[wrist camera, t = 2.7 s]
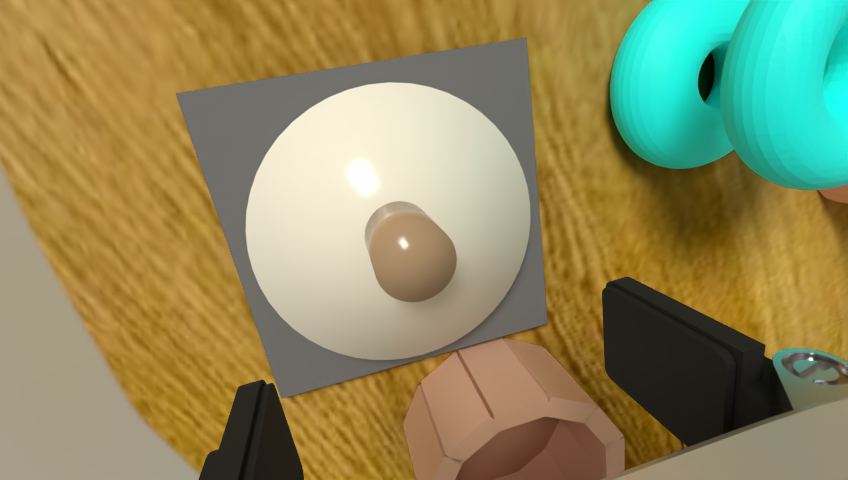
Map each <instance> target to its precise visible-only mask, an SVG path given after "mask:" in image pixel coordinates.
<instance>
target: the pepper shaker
mask: <svg viewBox="0 0 848 480" xmlns="http://www.w3.org/2000/svg"><path fill="white" fill-rule="evenodd" d="M818 191H819V192H820V193H821V194H822V195H823V196H824V197H825V198H827V199H830V200H832V201H835V202H841V203H847V204H848V184H847V185H843V186H839V187H835V188H830V189H821V190H818Z"/></svg>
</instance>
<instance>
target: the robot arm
mask: <svg viewBox="0 0 848 480" xmlns="http://www.w3.org/2000/svg"><path fill="white" fill-rule="evenodd" d="M602 304H603V330H604V357H605V369H606V372H607V374H608V376H609V377H610V378H611V380H612V381H614V382H615V383H616V384H617V385H618V386H619V387H620V388H622V389H623V390H624V391H625V392H626V393H627V394H628V395H629V396H631V397H632V398H633V399H634V400H635V401H636V402H637V403H639V404H640V405H641V406H642V407H643V408H644V409H645V410H646V411H648V412H649V413H650V414H651V415H652V416H653V417H654V418H656V419H657V420H658V421H659V422H660V423H661V424H662V425H663V426H665V427H666V428H667V429H668V430H669V431H670V432H671V433H672V434H674V435H675V436H676V437H677V438H678V439H679V440H680V441H682V442H683V443H684V444H685V445H686V446H687V448H684V449H682V450H679V451H676V452H673V453H671V454H668V455H665V456H663V457H660V458H657V459H654V460H652V461H649V462H646V463H644V464H641V465H638V466H636V467H633V468H630V469H628V470H625V471H622V472H620V473H617V474H614V475H612V476H609V477H606V478H604V479H601V480H848V361H846V360H844V359H842V358H840V357H837V356H835V355H832V354H829V353H825V352H821V351H817V350H811V349H799V348H792V349H785V350H781V351H779V352H777V353H775V355H774V356H773V357H772V360H771V359H769V358H767V357H765V356H764V352H765V345H764V344H762V343H760V342H758V341H756V340H754V339H752V338H750V337H748V336H746V335H744V334H742V333H740V332H738V331H736V330H734V329H732V328H730V327H728V326H726V325H724V324H722V323H720V322H718V321H716V320H714V319H712V318H710V317H708V316H706V315H704V314H702V313H700V312H698V311H696V310H694V309H692V308H690V307H688V306H686V305H684V304H682V303H680V302H678V301H676V300H674V299H672V298H670V297H668V296H666V295H664V294H662V293H660V292H658V291H656V290H654V289H652V288H650V287H648V286H646V285H644V284H642V283H640V282H638V281H636V280H634V279H632V278H630V277H624V278H621V279H617V280H614V281H610V282H608V283H607V285H606V288H604V289H603V291H602ZM199 480H304V476H303V469H302V465H301V462H300V459H299V456H298V453H297V450H296V447H295V444H294V441H293V438H292V435H291V432H290V429H289V426H288V423H287V420H286V417H285V415H284V412H283V409H282V406H281V403H280V400H279V397H278V394H277V391H276V388H275V386H274V384H273V383H270V384H267V385H266V383H265V381H264V380H259V381H256V382H252V383H249V384H245V385H242V386H239V388H238V390H237V393H236V396H235V399H234V402H233V406H232V409H231V412H230V415H229V418H228V422H227V425H226V428H225V431H224V434H223V438H222V441H221V444H220V447H219V449H218V450H215V451H212V452H210V453H209V454H208V456H207V458H206V460H205V463H204V466H203V469H202V472H201V475H200V477H199Z"/></svg>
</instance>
